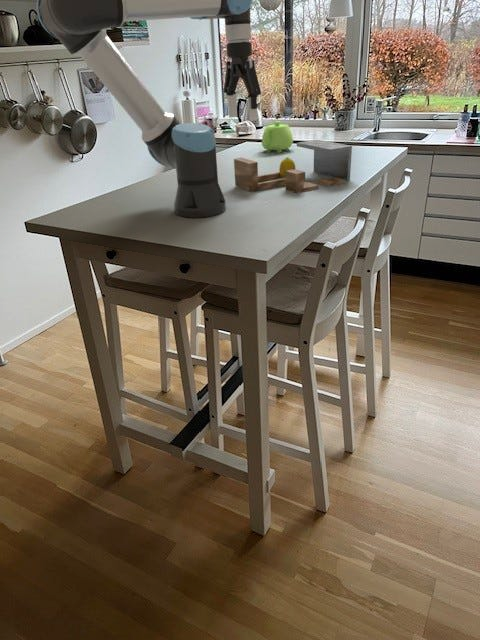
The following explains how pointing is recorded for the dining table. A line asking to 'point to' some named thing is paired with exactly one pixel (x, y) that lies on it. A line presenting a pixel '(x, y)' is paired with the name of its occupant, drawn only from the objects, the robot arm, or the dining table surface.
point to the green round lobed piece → (277, 137)
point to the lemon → (286, 166)
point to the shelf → (330, 158)
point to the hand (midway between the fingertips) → (242, 118)
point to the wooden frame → (254, 176)
